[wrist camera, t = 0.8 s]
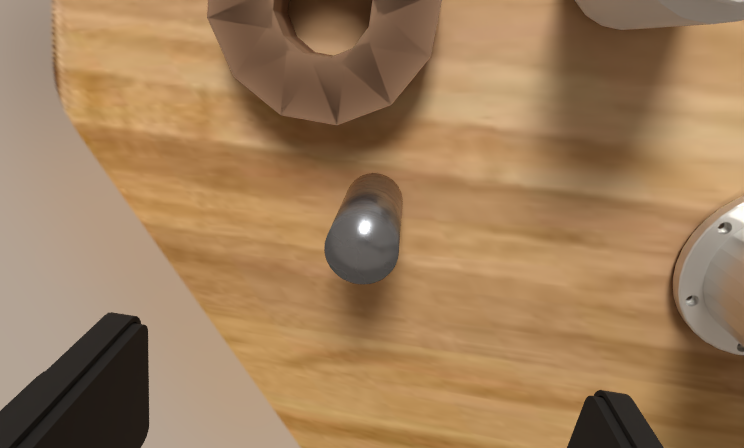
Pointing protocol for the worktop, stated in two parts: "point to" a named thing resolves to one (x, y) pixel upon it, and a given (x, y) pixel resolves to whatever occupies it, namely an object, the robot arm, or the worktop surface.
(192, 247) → the worktop surface
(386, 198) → the peg
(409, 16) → the bead
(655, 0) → the can
